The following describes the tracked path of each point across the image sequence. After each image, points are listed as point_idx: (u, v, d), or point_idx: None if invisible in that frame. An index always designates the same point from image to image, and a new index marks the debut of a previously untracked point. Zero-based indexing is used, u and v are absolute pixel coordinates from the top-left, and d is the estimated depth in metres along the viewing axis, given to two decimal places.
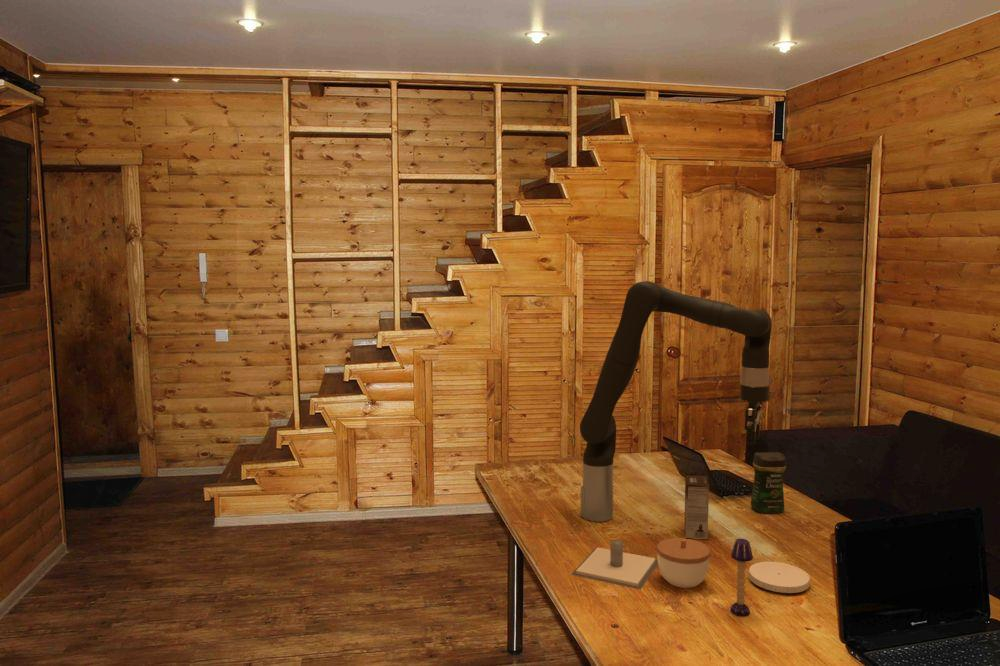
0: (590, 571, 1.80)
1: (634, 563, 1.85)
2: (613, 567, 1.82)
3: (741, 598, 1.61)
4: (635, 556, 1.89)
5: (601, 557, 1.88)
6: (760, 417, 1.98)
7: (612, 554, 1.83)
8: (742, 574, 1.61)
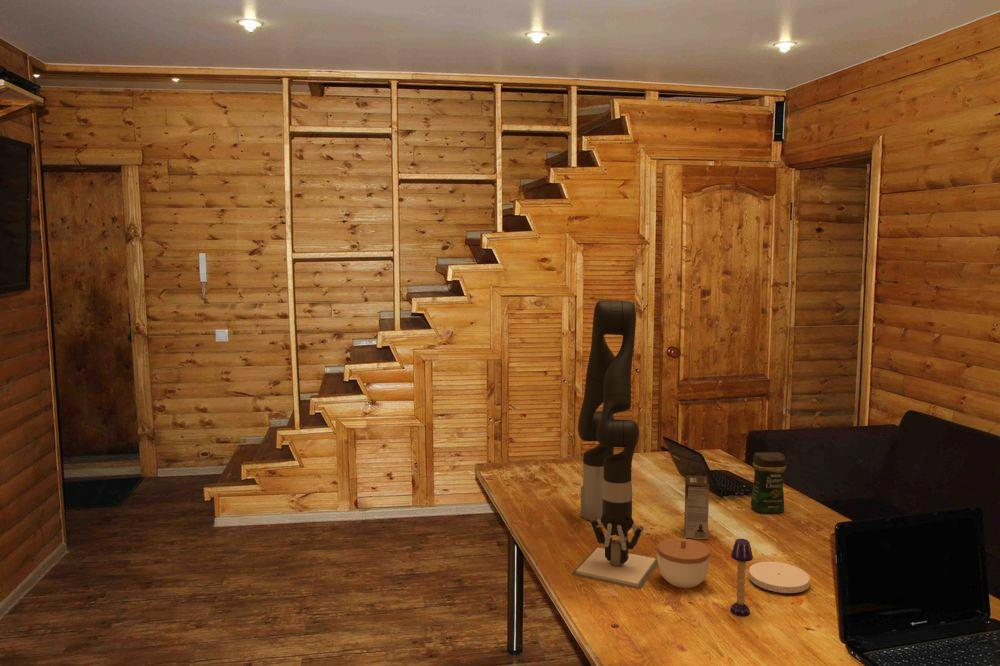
0: (590, 571, 1.80)
1: (634, 563, 1.85)
2: (613, 567, 1.82)
3: (741, 598, 1.61)
4: (635, 556, 1.89)
5: (601, 557, 1.88)
6: None
7: (612, 554, 1.83)
8: (742, 574, 1.61)
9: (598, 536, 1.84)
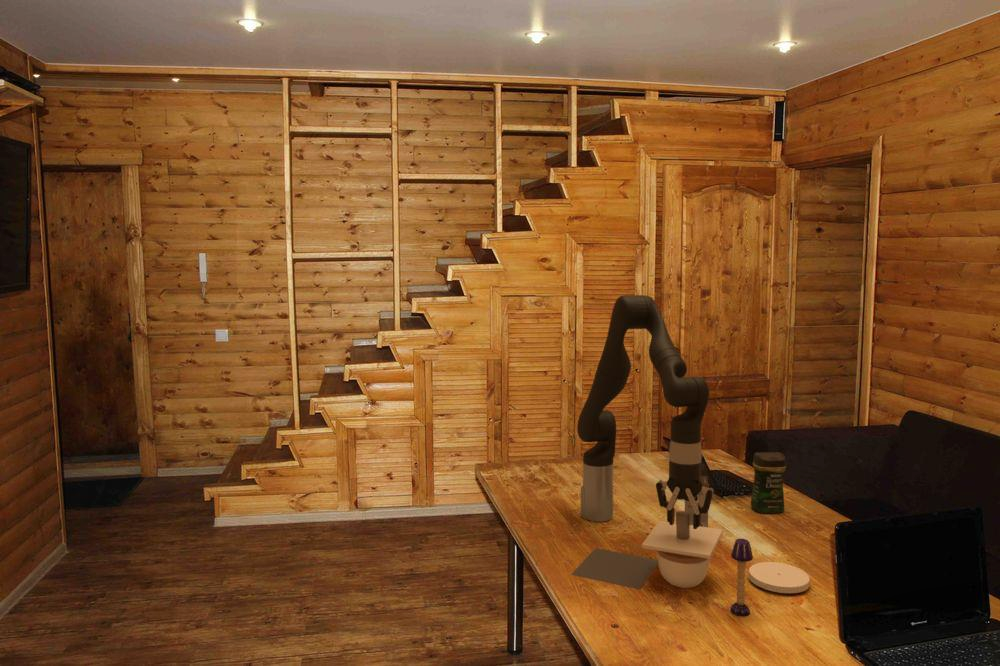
0: (657, 544, 1.71)
1: (701, 535, 1.76)
2: (680, 540, 1.73)
3: (741, 598, 1.61)
4: (701, 528, 1.80)
5: (666, 530, 1.79)
6: None
7: (679, 526, 1.74)
8: (742, 574, 1.61)
9: (660, 499, 1.76)
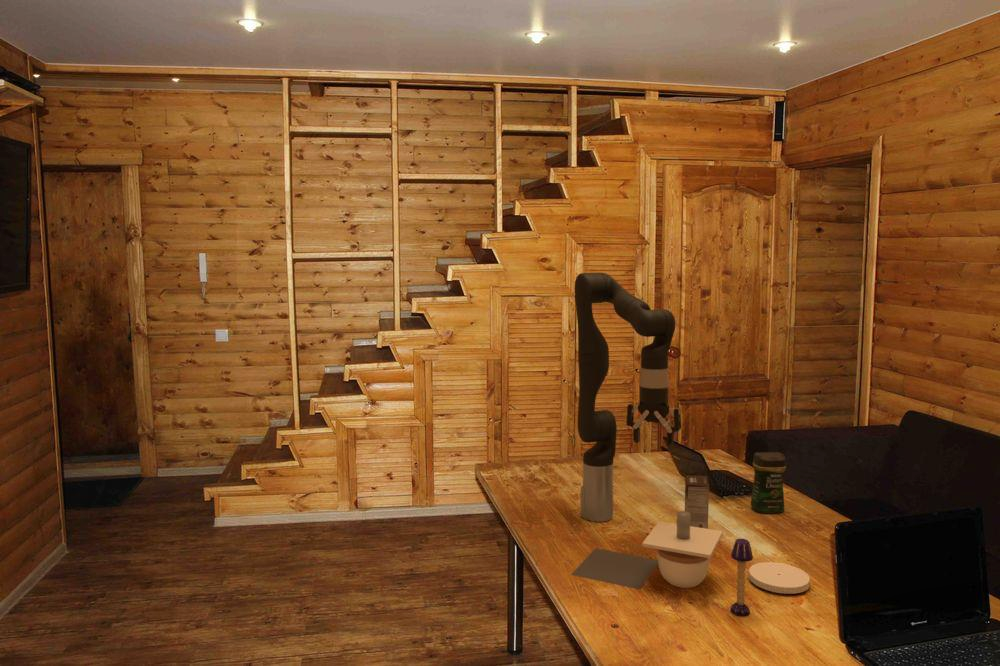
0: (657, 543, 1.71)
1: (701, 536, 1.76)
2: (680, 540, 1.73)
3: (741, 598, 1.61)
4: (701, 529, 1.80)
5: (666, 530, 1.79)
6: None
7: (679, 526, 1.74)
8: (742, 574, 1.61)
9: (628, 419, 1.93)
